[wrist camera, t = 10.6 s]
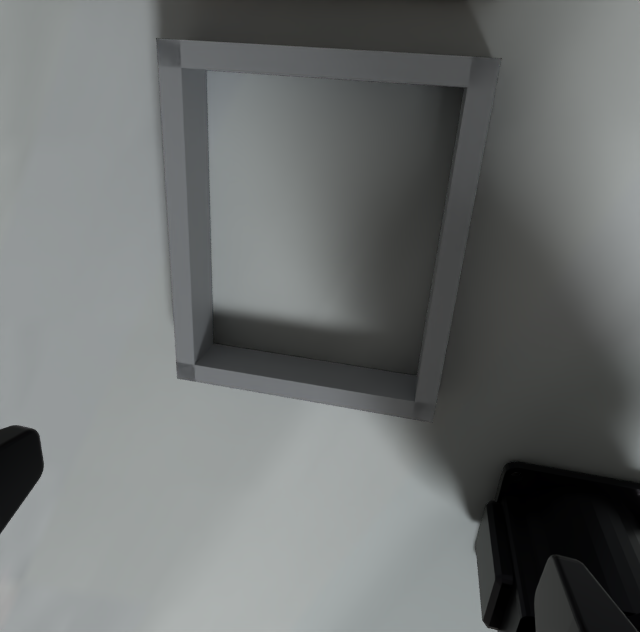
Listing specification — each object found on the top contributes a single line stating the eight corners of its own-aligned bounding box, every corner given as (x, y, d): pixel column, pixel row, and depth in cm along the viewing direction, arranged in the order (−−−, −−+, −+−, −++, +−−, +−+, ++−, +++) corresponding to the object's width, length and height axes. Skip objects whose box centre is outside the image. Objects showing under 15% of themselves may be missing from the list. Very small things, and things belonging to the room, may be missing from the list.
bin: (494, 61, 16) (501, 58, 14) (432, 395, 21) (432, 422, 20) (184, 43, 18) (156, 38, 16) (197, 356, 23) (177, 378, 21)
